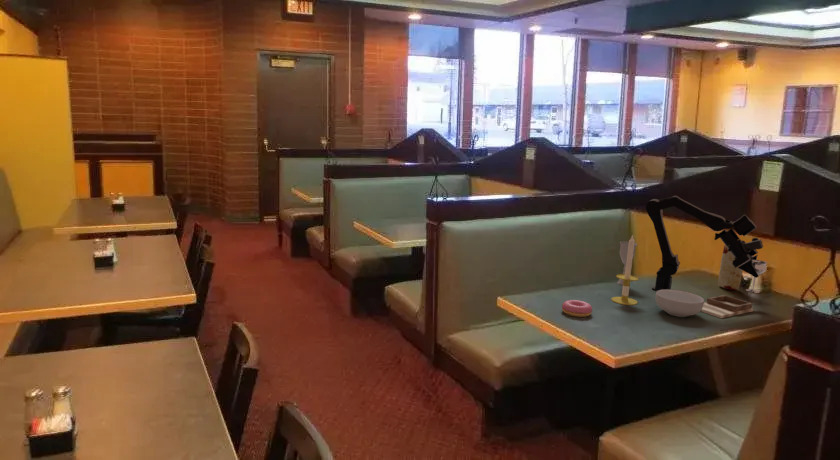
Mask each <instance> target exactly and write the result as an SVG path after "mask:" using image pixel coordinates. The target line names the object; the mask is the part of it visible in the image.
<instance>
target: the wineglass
mask: <svg viewBox="0 0 840 460" xmlns="http://www.w3.org/2000/svg"><path fill="white" fill-rule="evenodd" d="M750 260H751V259H750ZM767 264H768V261H764V260H759V259H757V260H754V259H753V261H752V265H753V266H754V268H755V270H756V272H757V274H758V275H759V274H760V275H762V274H764V272H766V271H767V268H768V267H767ZM760 275H759V276H760ZM756 280H757V278H756V277H754V276H753V280H752V281H753V283H752V288H748V289H747V288H746V289H745V291H747V292H749V293H754V294H759V293H760V291H759V290H757V289H755V283H756Z"/></svg>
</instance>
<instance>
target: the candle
mask: <svg viewBox="0 0 840 460" xmlns="http://www.w3.org/2000/svg"><path fill="white" fill-rule="evenodd" d="M635 241H636V240H635V239H634V234H632V235H631V237H630V239H629V240H628V242H629V245H628V253H627V261H626V269H625V274H623V273H621V274H619V273H618V274H616V276H615V277H616V278H617V279H618V280H619V279H621V280H624V281H623V285H622V289H621V296H613V297H611V298H610V300H611V301H612V302H614V303H616V304H618V305H619V304H620V305H623V306H636V305H638V301H637V300H636V299H633V298H630V297H629V295H630V294H629V293H630V286H631V285H630V284H631V282H638V281H639V277H638V276H635V275H632V274H631V273H632V267H633V266H632V265H633V259H634V258H633V251H634V243H636V242H635Z"/></svg>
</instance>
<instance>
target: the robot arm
mask: <svg viewBox="0 0 840 460" xmlns="http://www.w3.org/2000/svg"><path fill="white" fill-rule="evenodd" d="M672 207H675V208H677V209H679V210H681V211H683V212H684V213H686V214H688V215H690V216H692V217H693V218H696V219H698V220H699V221H701V223H703V224H704V225H705V226H706V227H708V228H710V230H712V231H714V232H715V233H714V241H717V240H718V239H720V240H721V241H722V243H723V244H724V245H726V246H728V247H727V248H728V251H729V252H730V251H731V253H732V254H733V255H734V257H735V258H734V259H735V260H733V263H732V264H733V265H734V267H735V268H736V267H738V266H739V265H741V266H739V267H738V268H739V269H741V270H743V272H744V273H747V274H749V275H750V276H752V277H753V278H754V277H756V279H757V278H759V276H760V275H761V274H759V275H758V274H757V272H756V270H755V268H754V266H753V265H752V261H753V259H754V260H758V253H759V252H758V251H757V250H762V249H763V248H764V245H763V241H762V239H759V238H758V237H754V238H752V239H751V241H749V242H746V241H745V240H741V238H740V237H739V236H743V237H745V236H747V235H749V234H750V233H752V232H753V231H755V230H756V229H757V225H756V224H755V223H754V222H753V220H752V219H751V218H749V217H748V216H747V215H746V214H743V215H742V216H741V217H740V218H738V219H737V220H735V221H732V220H728V219H726V218H725V217H724V216H722V215H719V214H717V213H712V212H709V211H707V210H704V209H702V208H700V207H699V206H696V205H694V204H692V203H690V202H688V201H686V200H684V199H683V198H681V197H679V196H678V195H673V196H671V197H670V196H669V197H666V198H661V199H657V198H653V199H651V200H649V201H648V202H647V203H646V204H645V211H646V213H647V215H648V216H649V218H650V220H651V221H652V224H653V228H654V231H655V234H656V239H657V241H658V245H659V249H660V251H661V265H662V266H661V267H659V269H658V270H657V271H656V274H655V275H656V277H655V285H654V287H651V290H654V291H656V292H657V291H659V290H665V289H669V290H672V283H673V282H672V281H673V276H674V275H675V274H676V273H677V272H678V270H679V268H680V264H681V262H680V261H679V256H678V254H674V252H673V251H672V247H671V244H670V241H669V240H670V239H669V237H668V234H667V230H666V226H665V223H664V222H665V221H664V216H663V212H664V211H663V210H665V209H668V208H672ZM750 259H751V260H750Z"/></svg>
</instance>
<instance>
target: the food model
mask: <svg viewBox="0 0 840 460" xmlns="http://www.w3.org/2000/svg"><path fill="white" fill-rule="evenodd" d="M727 247H728V246H726V245H725V244H724V245H723V249H722V255H721V260H720V266H719V267H720V268H719V272H718V281H717V284H718V286H719V287H720V288H723V289H725V290H729V291H737V290H738V289H739V286H740V284H741V281H742V277H743V272H744V271H743V270H741V269H739V268H738V267H739V266H741V265H739V266H738V267H736V268H735V267H734V265H733V264H732V263H733V260H735V259H734V258H735V257H734V255H733V254H732V253H731V251H730V252H729V251H728V248H727Z"/></svg>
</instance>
